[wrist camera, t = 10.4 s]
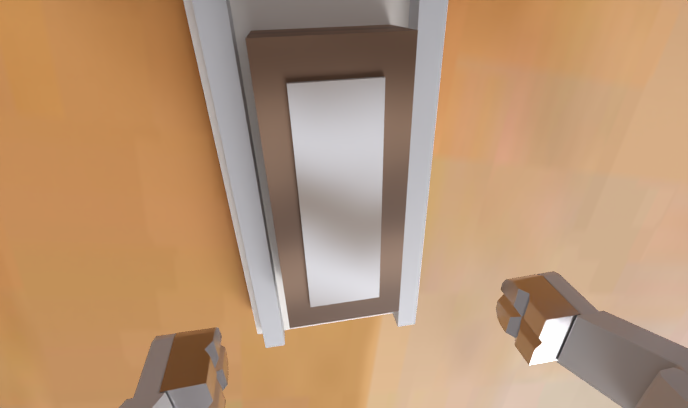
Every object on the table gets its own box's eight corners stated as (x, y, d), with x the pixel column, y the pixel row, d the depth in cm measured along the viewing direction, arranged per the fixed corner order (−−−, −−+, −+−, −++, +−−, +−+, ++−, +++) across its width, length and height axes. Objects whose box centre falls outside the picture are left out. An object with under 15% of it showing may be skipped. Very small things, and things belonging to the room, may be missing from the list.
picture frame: (250, 30, 15) (244, 38, 12) (390, 24, 16) (419, 30, 12) (287, 283, 22) (289, 331, 19) (382, 270, 23) (399, 314, 19)
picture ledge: (173, -83, 14) (152, -99, 11) (442, -84, 15) (472, -99, 13) (258, 316, 25) (256, 349, 23) (409, 294, 26) (422, 322, 24)
